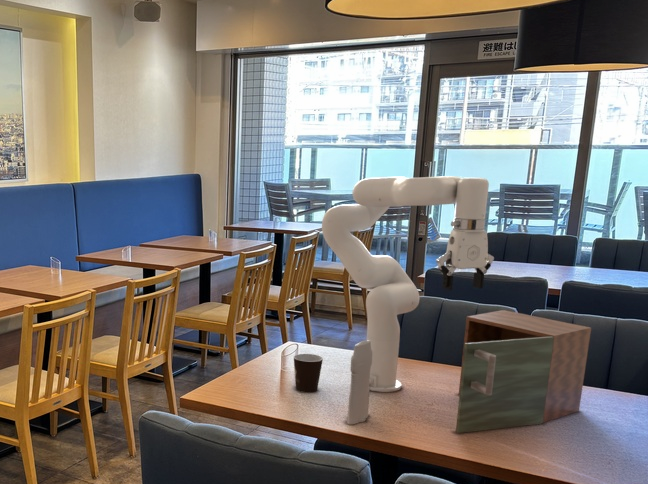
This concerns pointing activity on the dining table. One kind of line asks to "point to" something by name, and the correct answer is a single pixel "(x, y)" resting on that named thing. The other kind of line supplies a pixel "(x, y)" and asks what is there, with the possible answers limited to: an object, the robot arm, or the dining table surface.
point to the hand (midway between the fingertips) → (462, 288)
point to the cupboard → (565, 353)
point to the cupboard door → (504, 383)
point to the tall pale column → (360, 382)
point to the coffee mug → (307, 372)
